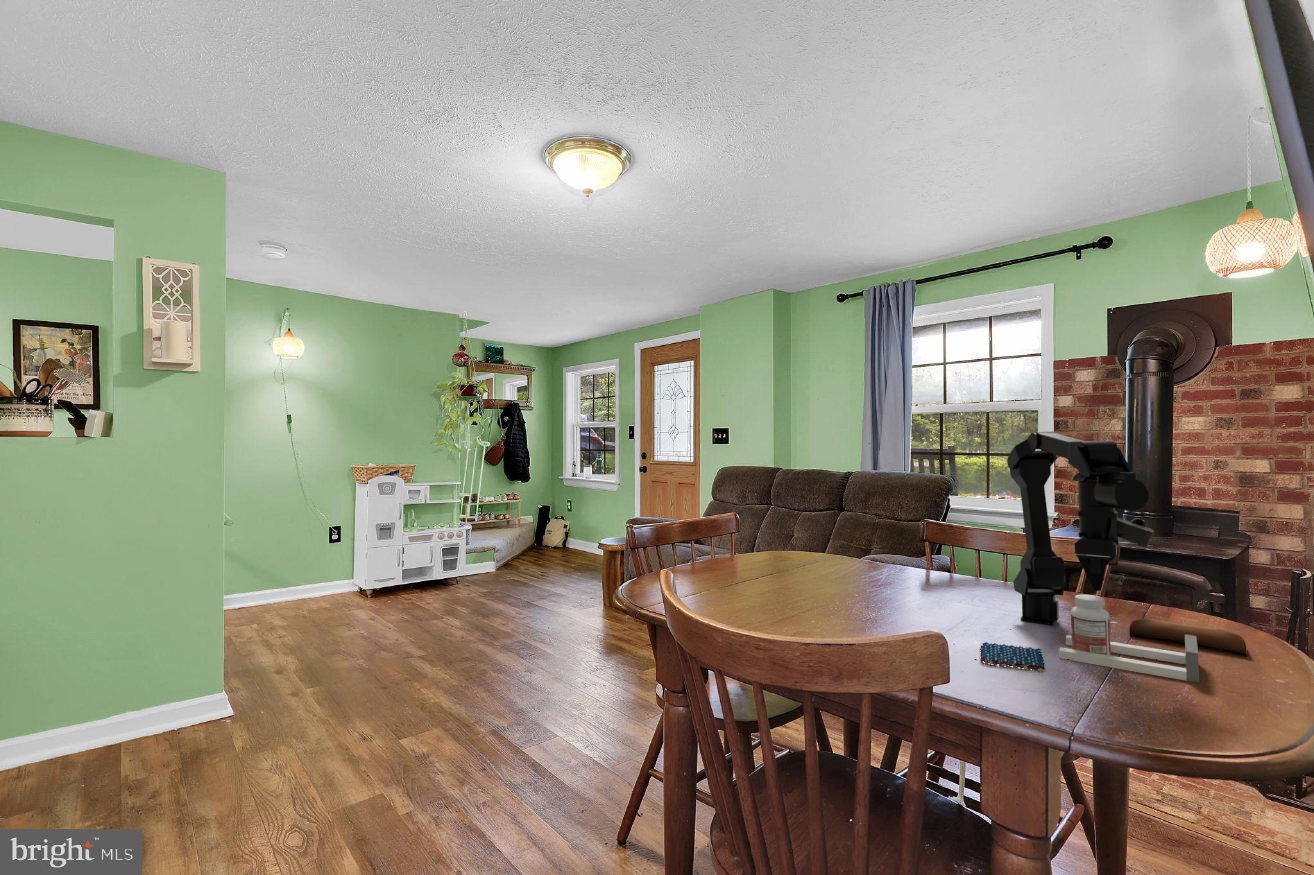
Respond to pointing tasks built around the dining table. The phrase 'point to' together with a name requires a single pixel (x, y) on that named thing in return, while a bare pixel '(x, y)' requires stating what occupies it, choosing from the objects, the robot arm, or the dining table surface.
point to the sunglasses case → (1178, 632)
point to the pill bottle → (1090, 625)
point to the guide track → (1141, 666)
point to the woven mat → (1012, 656)
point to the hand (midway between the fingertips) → (1099, 585)
